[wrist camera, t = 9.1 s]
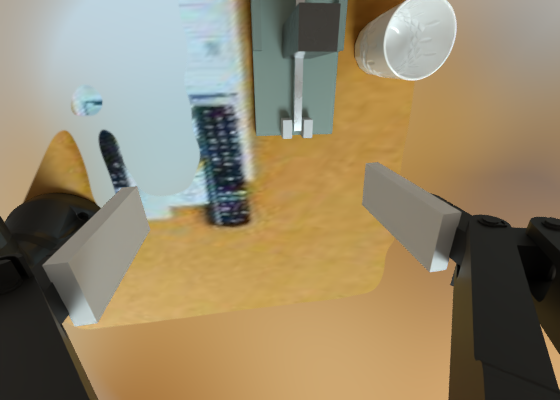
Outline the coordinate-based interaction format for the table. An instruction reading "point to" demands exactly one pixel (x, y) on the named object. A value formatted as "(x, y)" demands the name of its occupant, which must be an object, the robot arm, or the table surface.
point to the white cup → (407, 40)
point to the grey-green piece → (290, 74)
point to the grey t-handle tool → (309, 42)
